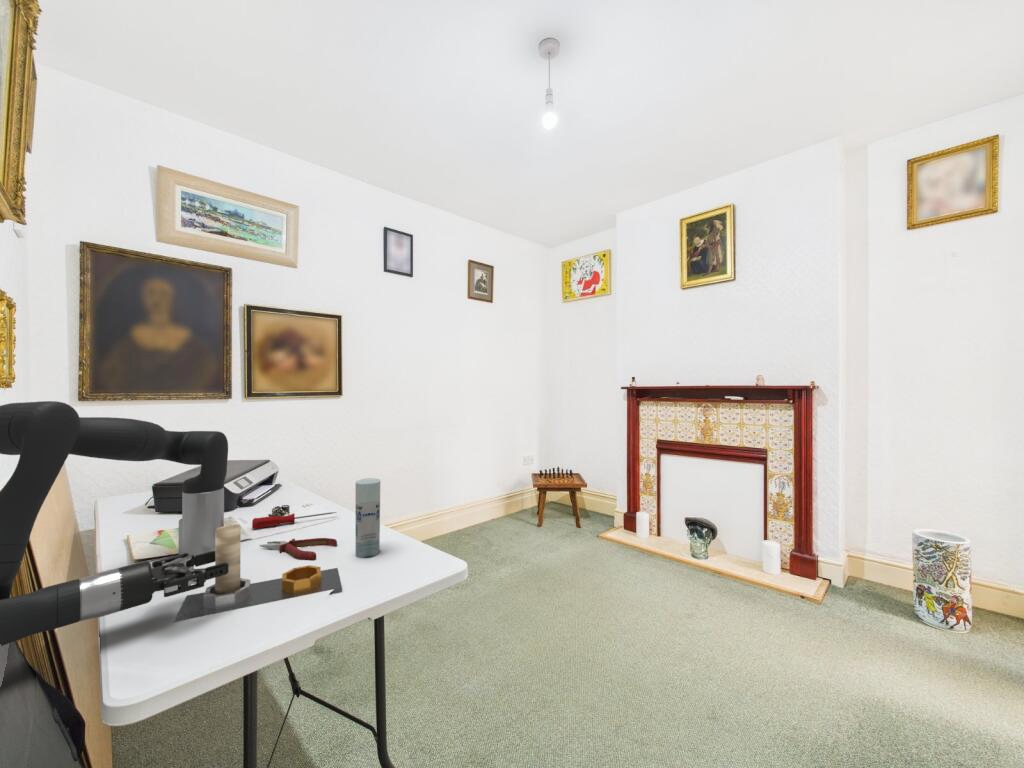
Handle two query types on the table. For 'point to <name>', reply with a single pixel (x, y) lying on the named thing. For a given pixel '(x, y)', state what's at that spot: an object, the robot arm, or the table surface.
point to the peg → (228, 558)
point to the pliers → (293, 544)
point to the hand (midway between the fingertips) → (222, 561)
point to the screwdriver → (278, 520)
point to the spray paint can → (367, 517)
